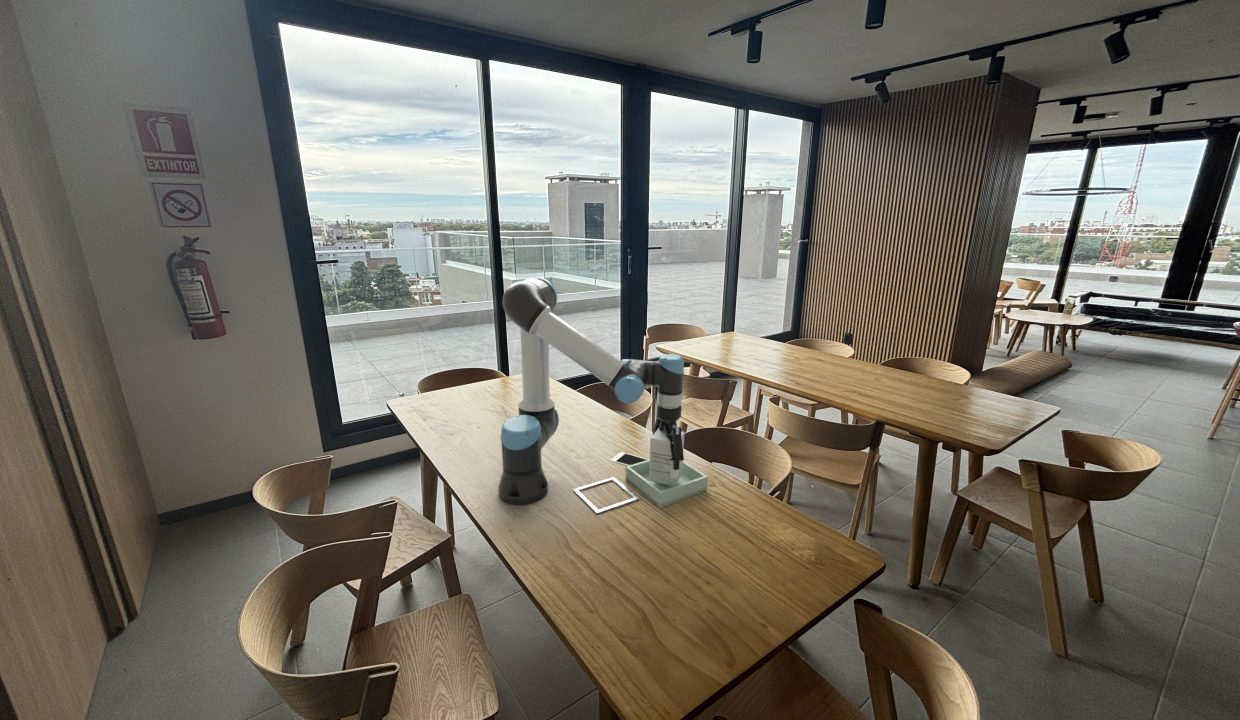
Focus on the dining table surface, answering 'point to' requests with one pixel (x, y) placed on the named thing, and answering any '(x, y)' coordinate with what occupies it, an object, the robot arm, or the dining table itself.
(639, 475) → the bin
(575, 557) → the dining table surface
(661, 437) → the supplement box
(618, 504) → the white square frame
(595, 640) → the dining table surface
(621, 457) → the cell phone
